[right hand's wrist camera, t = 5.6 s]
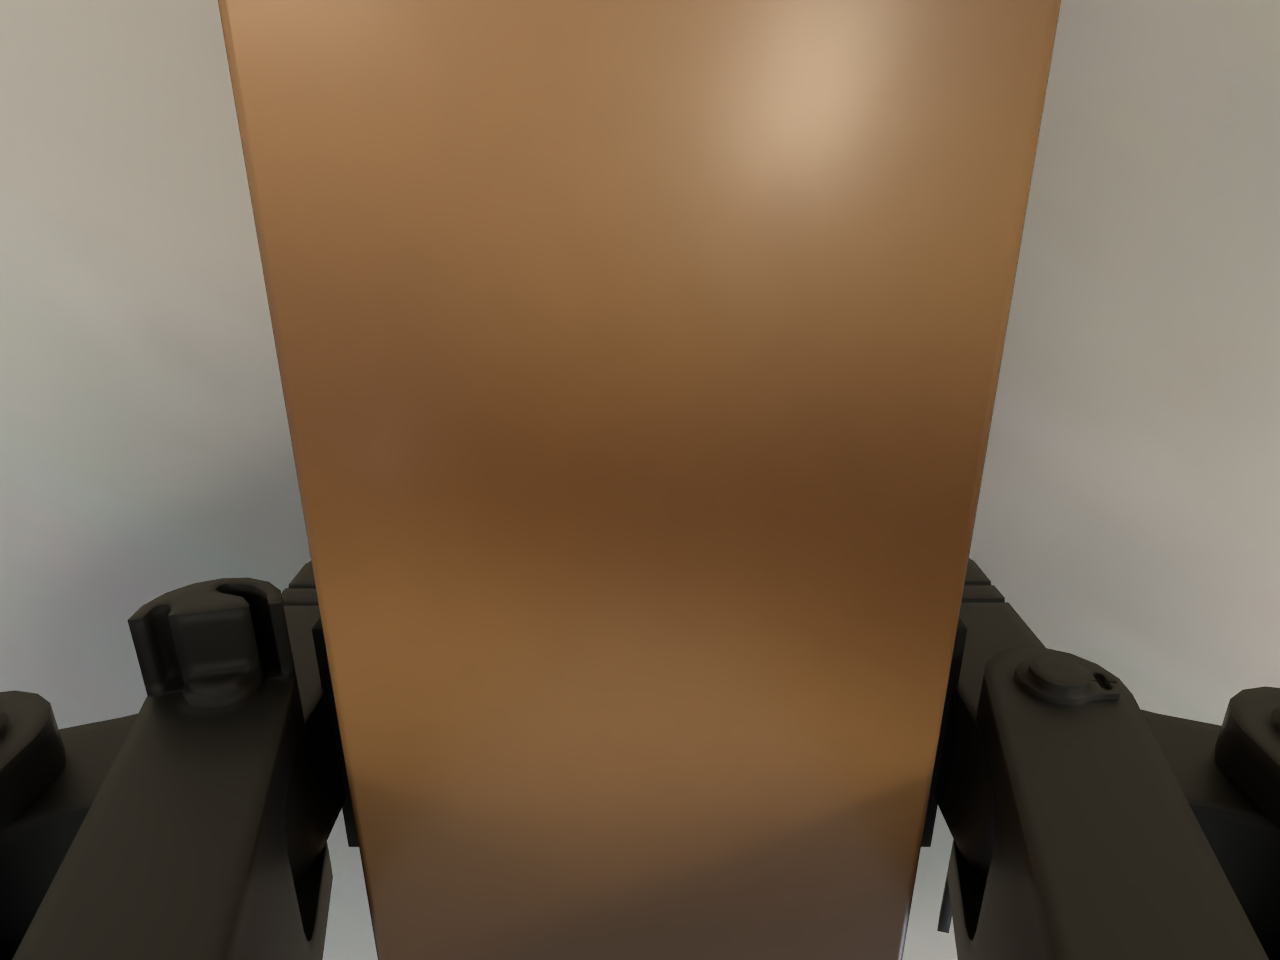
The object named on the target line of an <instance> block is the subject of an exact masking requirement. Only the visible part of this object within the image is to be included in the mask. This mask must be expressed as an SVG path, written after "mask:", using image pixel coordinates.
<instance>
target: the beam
mask: <svg viewBox="0 0 1280 960" xmlns="http://www.w3.org/2000/svg"><path fill="white" fill-rule="evenodd" d="M218 4H219V10H220V16H221V22H222V28H223V34H224V40H225V46H226V52H227V58H228V64H229V70H230V76H231V82H232V88H233V94H234V100H235V106H236V112H237V118H238V124H239V130H240V136H241V142H242V148H243V154H244V160H245V166H246V172H247V178H248V184H249V190H250V196H251V202H252V208H253V214H254V220H255V225H256V231H257V237H258V243H259V249H260V255H261V261H262V267H263V273H264V279H265V285H266V291H267V297H268V303H269V309H270V315H271V321H272V327H273V333H274V339H275V345H276V351H277V357H278V363H279V369H280V375H281V381H282V387H283V393H284V399H285V405H286V411H287V417H288V423H289V429H290V435H291V441H292V447H293V453H294V459H295V465H296V471H297V477H298V483H299V489H300V495H301V501H302V507H303V513H304V519H305V525H306V531H307V537H308V543H309V549H310V555H311V561H312V567H313V573H314V579H315V585H316V591H317V597H318V603H319V609H320V615H321V621H322V627H323V633H324V639H325V645H326V651H327V657H328V663H329V669H330V675H331V681H332V687H333V693H334V699H335V705H336V711H337V717H338V723H339V729H340V735H341V741H342V747H343V753H344V759H345V765H346V771H347V777H348V783H349V789H350V795H351V801H352V807H353V813H354V819H355V824H356V830H357V836H358V842H359V848H360V854H361V860H362V866H363V872H364V878H365V884H366V890H367V896H368V902H369V908H370V914H371V920H372V926H373V932H374V938H375V944H376V950H377V956H378V960H902V956H903V950H904V944H905V938H906V932H907V926H908V920H909V914H910V908H911V902H912V896H913V890H914V884H915V878H916V872H917V866H918V860H919V854H920V848H921V842H922V836H923V830H924V824H925V818H926V812H927V806H928V800H929V794H930V788H931V782H932V776H933V770H934V764H935V758H936V751H937V745H938V739H939V733H940V727H941V721H942V715H943V709H944V703H945V697H946V691H947V685H948V679H949V673H950V667H951V661H952V655H953V649H954V643H955V637H956V631H957V625H958V619H959V613H960V607H961V601H962V595H963V589H964V583H965V577H966V571H967V565H968V559H969V553H970V546H971V540H972V534H973V528H974V522H975V516H976V510H977V504H978V498H979V492H980V486H981V480H982V474H983V468H984V462H985V456H986V450H987V444H988V438H989V432H990V426H991V420H992V414H993V408H994V402H995V396H996V390H997V384H998V378H999V372H1000V366H1001V360H1002V354H1003V347H1004V341H1005V335H1006V329H1007V323H1008V317H1009V311H1010V305H1011V299H1012V293H1013V287H1014V281H1015V275H1016V269H1017V263H1018V257H1019V251H1020V245H1021V239H1022V233H1023V227H1024V221H1025V215H1026V209H1027V203H1028V197H1029V191H1030V185H1031V179H1032V173H1033V167H1034V161H1035V155H1036V149H1037V142H1038V136H1039V130H1040V124H1041V118H1042V112H1043V106H1044V100H1045V94H1046V88H1047V82H1048V76H1049V70H1050V64H1051V58H1052V52H1053V46H1054V40H1055V34H1056V28H1057V22H1058V16H1059V10H1060V4H1061V0H218Z"/></svg>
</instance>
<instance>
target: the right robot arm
mask: <svg viewBox="0 0 1280 960" xmlns="http://www.w3.org/2000/svg"><path fill="white" fill-rule="evenodd" d="M128 623H129V627H130V631H131V635H132V638H133V642H134V646H135V650H136V653H137V657H138V661H139V665H140V668H141V672H142V676H143V680H144V684H145V687H146V691H147V695H148V696H147V698H146V700H145V702H144V704H143V706H142V708H141V710H140V712H139V713H138V714H134V715H130V716H126V717H122V718H117V719H112V720H106V721H101V722H96V723H91V724H85V725H80V726H75V727H70V728H65V729H58V726H57V723H56V720H55V717H54V714H53V711H52V708H51V704H50V703H49V702H48V701H47V700H45V699H44V698H43V697H41V696H40V695H39V694H35V693H28V692H21V691H7V692H0V960H322V958H323V950H324V942H325V935H326V927H327V919H328V911H329V903H330V895H331V887H332V879H333V875H332V869H331V862H330V856H329V850H328V845H327V839H328V837H329V835H330V832H331V830H332V828H333V826H334V824H335V821H336V819H337V817H338V815H339V813H340V810H341V808H342V809H343V815H344V821H345V827H346V833H347V839H348V844H349V847H359V842H358V836H357V830H356V824H355V819H354V813H353V807H352V801H351V795H350V789H349V783H348V777H347V771H346V765H345V759H344V753H343V747H342V741H341V735H340V729H339V723H338V717H337V711H336V705H335V699H334V693H333V687H332V681H331V675H330V669H329V663H328V657H327V651H326V645H325V639H324V633H323V627H322V621H321V615H320V609H319V603H318V597H317V591H316V585H315V579H314V573H313V567H312V561H310V562H308V563H307V564H305V566H304V567H303V568H302V569H301V570H300V572H299V573H298V574H297V575H296V576H295V578H294V579H293V580H292V581H291V583H290V584H289V588H286V589H285V590H284V591H283V592H282V594H281V590H279V589H278V588H276V587H275V586H274V585H272V584H271V583H270V582H266V581H262V580H257V579H252V578H221V579H216V580H211V581H205V582H200V583H194V584H191V585H188V586H185V587H182V588H179V589H176V590H173V591H170V592H167V593H165V594H163V595H161V596H159V597H158V598H156V599H154V600H152V601H150V602H149V603H147V604H145V605H143V606H142V607H141V608H140V609H139V610H138V611H137V612H136V613H135V614H134V615H133V616H132V617H131V618H130V619H128ZM937 805H938V806H939V808H940V810H941V812H942V814H943V817H944V819H945V821H946V823H947V825H948V827H949V830H950V832H951V834H952V836H953V838H954V840H953V845H952V850H951V856H950V861H949V867H948V872H947V878H946V883H945V889H944V894H943V899H942V905H941V910H940V916H939V923H938V930H937V931H941V932H946V933H949V928H950V923H951V918H952V917H953V925H954V933H955V940H956V948H957V956H958V960H1280V688H1273V687H1260V688H1253V689H1245V690H1242V691H1241V692H1239V693H1238V694H1236V695H1235V696H1234V697H1232V698H1231V699H1230V702H1229V705H1228V708H1227V711H1226V714H1225V717H1224V720H1223V724H1222V726H1219V725H1214V724H1209V723H1204V722H1198V721H1193V720H1188V719H1183V718H1177V717H1172V716H1167V715H1162V714H1156V713H1152V712H1148V711H1144V710H1140V708H1139V706H1138V704H1137V702H1136V700H1135V698H1134V696H1133V695H1132V693H1131V692H1130V691H1129V690H1128V689H1127V687H1126V686H1125V685H1124V684H1123V683H1122V682H1121V680H1120V679H1119V678H1117V677H1116V676H1114V675H1113V674H1111V673H1110V672H1108V671H1107V670H1105V669H1104V668H1102V667H1101V666H1099V665H1097V664H1095V663H1093V662H1090V661H1088V660H1085V659H1083V658H1080V657H1078V656H1075V655H1073V654H1070V653H1066V652H1061V651H1056V650H1052V649H1047V648H1045V646H1044V645H1043V644H1042V643H1041V641H1040V640H1039V639H1038V638H1037V637H1036V635H1035V634H1034V633H1033V632H1032V631H1031V629H1030V628H1029V627H1028V626H1027V625H1026V623H1025V622H1024V621H1023V620H1022V619H1021V617H1020V616H1019V615H1018V614H1017V613H1016V611H1015V610H1014V609H1013V608H1012V606H1011V605H1010V604H1009V603H1005V598H1004V597H1003V596H1002V594H1001V593H1000V592H999V591H998V590H997V588H996V587H995V586H994V585H991V581H990V580H989V579H988V578H987V576H986V575H985V574H984V573H983V571H982V570H981V569H980V568H979V567H978V565H977V564H976V563H975V562H974V561H973V560H971V559H968V565H967V571H966V577H965V583H964V589H963V595H962V601H961V607H960V613H959V619H958V625H957V631H956V637H955V643H954V649H953V655H952V661H951V667H950V673H949V679H948V685H947V691H946V697H945V703H944V709H943V715H942V721H941V727H940V733H939V739H938V745H937V751H936V758H935V764H934V770H933V776H932V782H931V788H930V794H929V800H928V806H927V812H926V818H925V824H924V830H923V836H922V842H921V847H930V846H931V841H932V835H933V829H934V823H935V817H936V811H937Z"/></svg>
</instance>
